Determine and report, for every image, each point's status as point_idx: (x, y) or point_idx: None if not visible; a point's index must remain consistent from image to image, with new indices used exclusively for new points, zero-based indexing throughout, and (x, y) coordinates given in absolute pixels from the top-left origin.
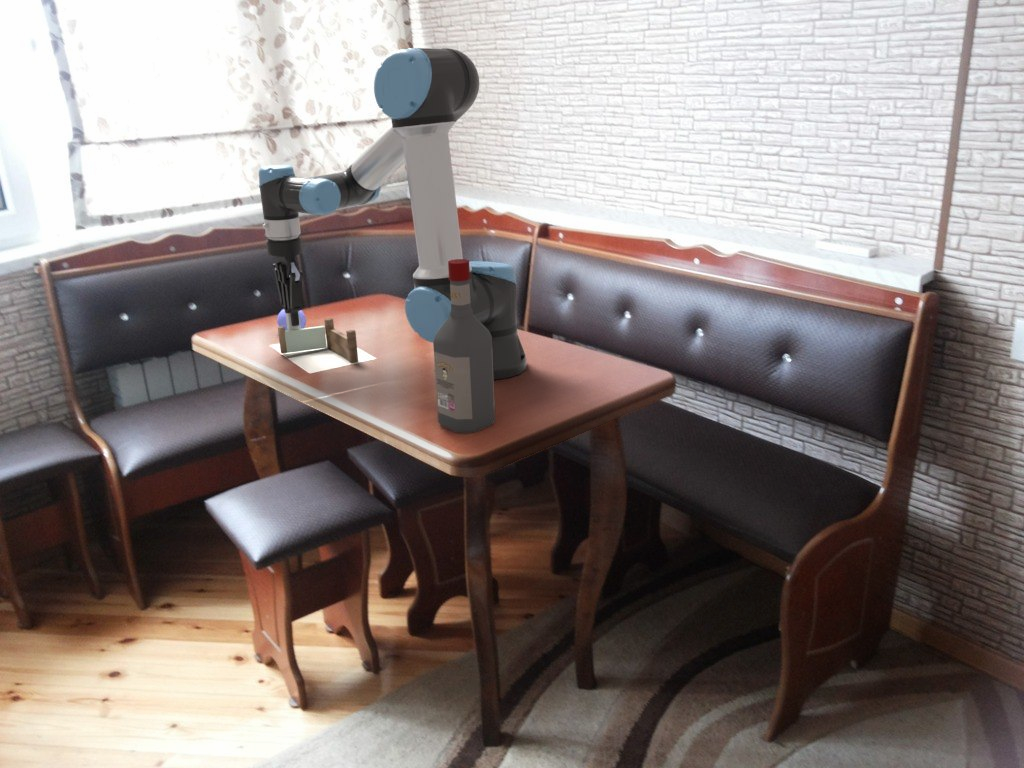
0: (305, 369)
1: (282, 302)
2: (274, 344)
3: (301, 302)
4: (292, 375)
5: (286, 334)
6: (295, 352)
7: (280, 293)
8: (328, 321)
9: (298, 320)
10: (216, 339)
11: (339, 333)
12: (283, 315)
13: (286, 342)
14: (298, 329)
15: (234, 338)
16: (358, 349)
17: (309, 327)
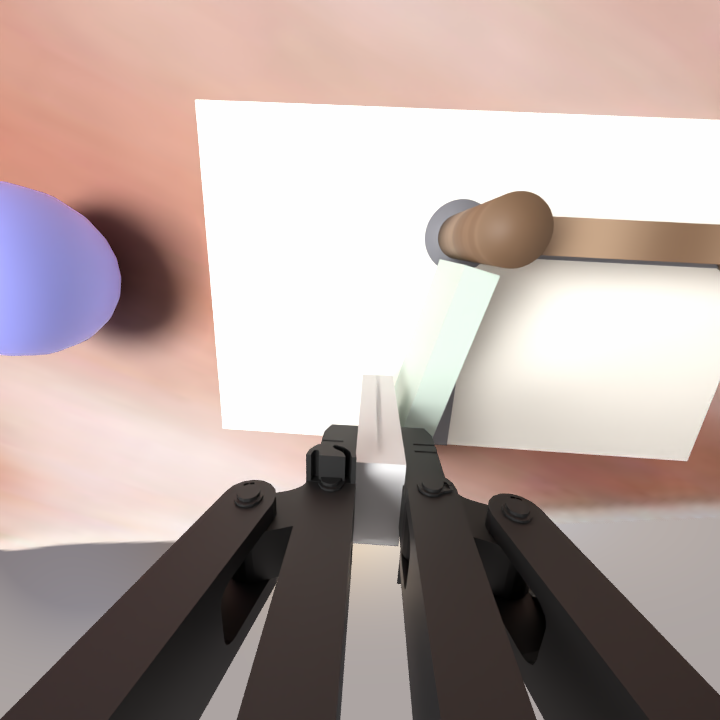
0: (630, 452)
1: (271, 590)
2: (224, 407)
3: (598, 579)
4: (621, 496)
5: None
6: None
7: (210, 693)
8: (540, 248)
9: (433, 449)
10: (19, 517)
11: (677, 245)
12: (20, 343)
13: None
14: (421, 423)
15: (35, 471)
16: (592, 127)
17: (431, 357)
